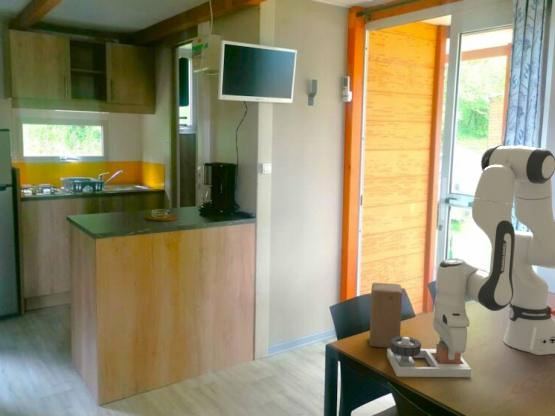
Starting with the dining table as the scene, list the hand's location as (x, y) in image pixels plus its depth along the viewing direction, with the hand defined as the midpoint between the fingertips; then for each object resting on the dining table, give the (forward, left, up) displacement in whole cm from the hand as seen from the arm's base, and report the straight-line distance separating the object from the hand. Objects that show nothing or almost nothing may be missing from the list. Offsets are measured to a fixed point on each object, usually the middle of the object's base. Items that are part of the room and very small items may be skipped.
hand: (447, 354), depth 162 cm
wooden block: (+16, -18, -4) cm, 24 cm away
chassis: (+6, 0, -4) cm, 7 cm away
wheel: (+13, 0, +1) cm, 13 cm away
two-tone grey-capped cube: (0, 0, -3) cm, 3 cm away
